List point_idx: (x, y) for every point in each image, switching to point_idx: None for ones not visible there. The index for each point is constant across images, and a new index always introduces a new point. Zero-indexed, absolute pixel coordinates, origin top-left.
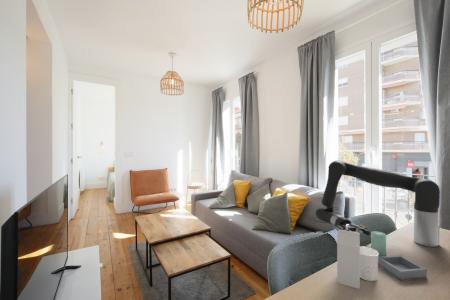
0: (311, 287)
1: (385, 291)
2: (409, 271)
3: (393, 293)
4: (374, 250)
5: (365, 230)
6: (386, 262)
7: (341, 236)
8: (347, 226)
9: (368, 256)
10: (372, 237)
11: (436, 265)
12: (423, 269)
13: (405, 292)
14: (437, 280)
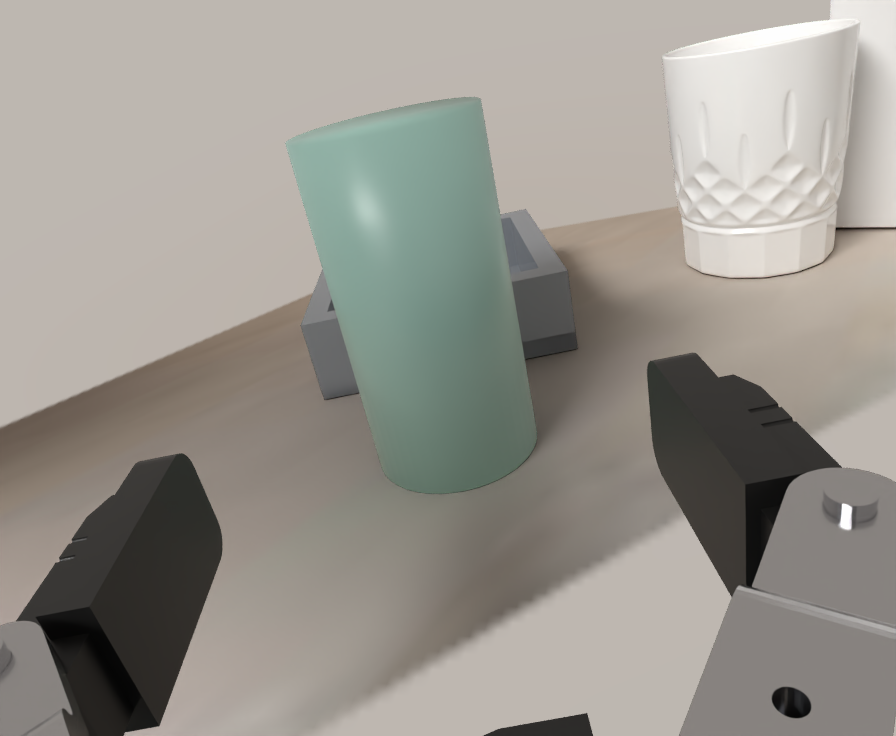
0: None
1: None
2: None
3: (656, 214)
4: (674, 61)
5: (141, 535)
6: (545, 241)
7: None
8: (764, 659)
9: (764, 38)
10: (490, 161)
11: (62, 420)
12: None
13: (586, 228)
14: (302, 309)
